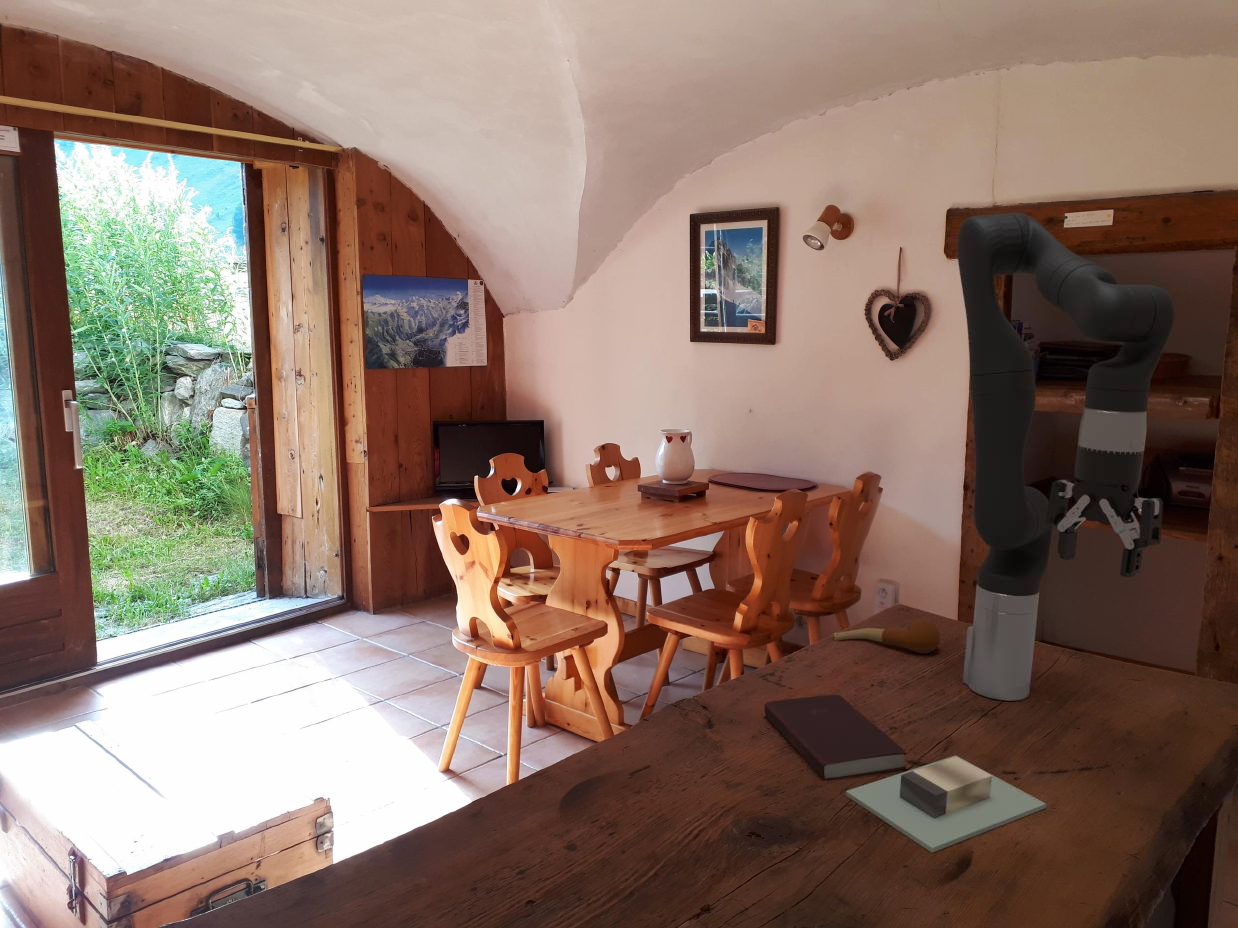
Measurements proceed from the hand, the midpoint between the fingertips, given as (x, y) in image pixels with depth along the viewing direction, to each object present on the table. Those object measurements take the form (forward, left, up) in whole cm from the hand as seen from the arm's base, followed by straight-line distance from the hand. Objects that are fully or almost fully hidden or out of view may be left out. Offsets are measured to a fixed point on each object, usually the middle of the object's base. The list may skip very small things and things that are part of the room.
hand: (1096, 567), depth 122 cm
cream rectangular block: (-2, -23, -27) cm, 36 cm away
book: (-21, -24, -29) cm, 43 cm away
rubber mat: (-2, -23, -28) cm, 36 cm away
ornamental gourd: (-44, +10, -28) cm, 53 cm away
